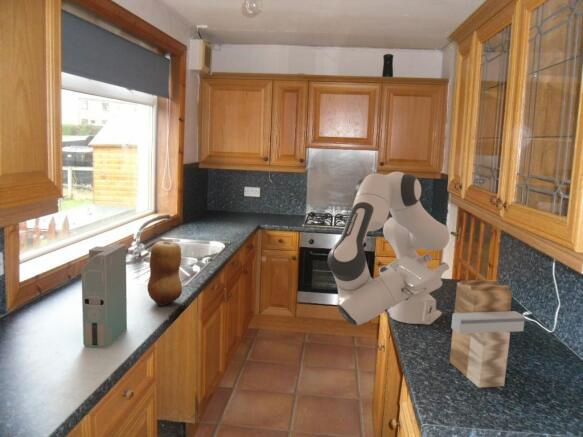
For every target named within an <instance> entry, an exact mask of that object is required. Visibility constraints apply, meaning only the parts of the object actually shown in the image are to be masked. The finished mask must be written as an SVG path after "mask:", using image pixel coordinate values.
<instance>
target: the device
mask: <svg viewBox="0 0 583 437" xmlns="http://www.w3.org/2000/svg"><path fill="white" fill-rule="evenodd" d="M81 300H82V301H81V305H82V306H81V307H82V340H83V343H82V344H83V346H84V347H86V348H97V349H98V348H100V349H108V348H109V347H111V346H112V344H114V343H115V341H117V340H118V338H119V337H121V336H122V335H123V334H124V333H125V332H126V330H128V317H127V316H128V312H127V310H128V309H127V308H128V306H127V304H128V302H127V245H126V243H117V244H115V245H113V246H95V247H93V248H90V249H88V260H87V262H86V263H85V264H84V265H83V266H81Z"/></svg>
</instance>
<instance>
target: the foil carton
mask: <svg viewBox="0 0 583 437" xmlns="http://www.w3.org/2000/svg"><path fill="white" fill-rule="evenodd" d="M525 319H526V316H525V315H523V314H522V313H520V312H518V311H516V310H512V311H511V310H510V311H504V312H476V313H454V312H453V313H452V316H451V327H450V328H451V329H452V331H453V330H455V331H456V332H457V333H459V334H471V333H493V332H510V333H511V332H512V333H513V332H524V327H525Z"/></svg>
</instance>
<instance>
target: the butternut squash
mask: <svg viewBox="0 0 583 437" xmlns="http://www.w3.org/2000/svg"><path fill="white" fill-rule="evenodd" d="M181 262H182V249H181V247H180V244H178V243H176V242H174V241H166V240H164V241H163V240H161V241H160V240H159V241H157V242H155V243H154V244H152V247H151V250H150V256H149V268H150V269H149V270H150V274H149V275H150V276H149V279H148V282H147V292H148V296H149V297H150V298H151V300H152V301H153V302H154V303H156V304H157V305H158V306H165V305H168V304H172V303H173V302H175V301H176V300H178V299H179V298H180V297H181V295H182V292H183V286H182V285H183V284H182V281H181V277H180V273H179V272H180V267H181Z"/></svg>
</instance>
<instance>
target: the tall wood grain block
mask: <svg viewBox="0 0 583 437" xmlns="http://www.w3.org/2000/svg"><path fill="white" fill-rule="evenodd" d="M455 294H456V295H455V303H454V312H453V313H476V312H504V311H511V307H512V306H511V305H512V298H513V290H511V289H510V286H509V285H500V284H499V283H498V279H482V280H481V279H478V280H477V279H476V280H475V279H474V280H460V281H459V282H458V281H456V292H455ZM451 334H452V336H451V345H450V356H449V363H450V364H451V365H452V366H453V367H455V368H456V369H457V370H458V371H460V373H461V374H463V375H464V376H465V377H466V378H467V379H468V380H470V382H472V384H474V386H476V387H477V388H480V389H481V388H493V387H494V388H495V387H505V380H506V373H507V364H508V363H507V362H508V356H509V355H508V354H509V347H510V337H511V332H493V333H471V334H459V333H457V332H456V331H455V330H453V329H452V333H451Z"/></svg>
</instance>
